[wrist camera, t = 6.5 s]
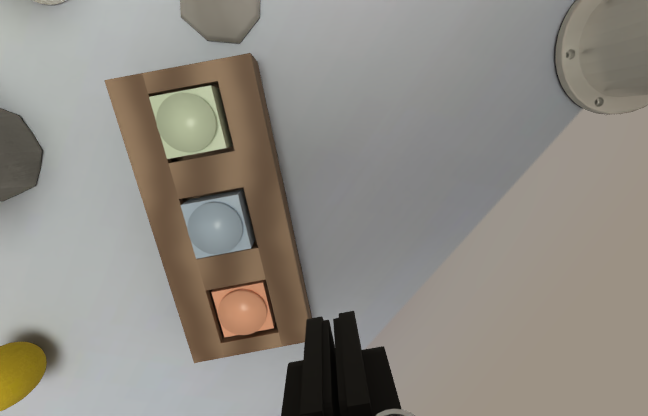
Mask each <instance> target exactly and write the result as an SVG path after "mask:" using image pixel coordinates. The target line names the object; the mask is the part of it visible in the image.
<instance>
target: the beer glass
mask: <svg viewBox="0 0 648 416" xmlns="http://www.w3.org/2000/svg"><path fill="white" fill-rule="evenodd" d="M32 1H34V2H37V3H40V4H46V5H55V4H60V3H62V2H65V1H66V0H32Z"/></svg>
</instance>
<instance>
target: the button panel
mask: <svg viewBox="0 0 648 416" xmlns="http://www.w3.org/2000/svg"><path fill="white" fill-rule="evenodd" d="M105 84H106V87H107V90H108V93H109V96H110V99H111V102H112V106H113V109H114V112H115V115H116V118H117V121H118V124H119V128H120V131H121V134H122V137H123V140H124V143H125V147H126V150H127V153H128V156H129V159H130V162H131V165H132V169H133V172H134V175H135V178H136V181H137V184H138V187H139V191H140V194H141V197H142V200H143V203H144V206H145V210H146V213H147V216H148V219H149V222H150V225H151V228H152V232H153V235H154V238H155V241H156V244H157V247H158V250H159V254H160V257H161V260H162V263H163V266H164V269H165V273H166V276H167V279H168V282H169V285H170V288H171V291H172V295H173V298H174V301H175V304H176V307H177V310H178V313H179V317H180V320H181V323H182V326H183V329H184V332H185V336H186V339H187V342H188V345H189V348H190V351H191V354H192V358H193V361H194V363H197V362H202V361H207V360H213V359H218V358H223V357H229V356H234V355H239V354H245V353H250V352H255V351H260V350H266V349H271V348H276V347H282V346H287V345H292V344H298V343H303V342H305V333H306V320H307V319H311V318H312V316H311V311H310V307H309V302H308V297H307V292H306V288H305V283H304V278H303V274H302V269H301V264H300V260H299V255H298V250H297V246H296V241H295V236H294V231H293V227H292V222H291V217H290V213H289V208H288V203H287V199H286V194H285V189H284V185H283V180H282V175H281V170H280V166H279V161H278V156H277V152H276V147H275V142H274V138H273V133H272V128H271V123H270V119H269V114H268V109H267V105H266V100H265V95H264V91H263V86H262V81H261V77H260V72H259V67H258V62H257V61H256V59H255V58H254V57H253V56H252V54H251V53H248V54H243V55H238V56H232V57H227V58H222V59H216V60H211V61H206V62H200V63H195V64H189V65H184V66H179V67H173V68H168V69H163V70H157V71H152V72H147V73H141V74H136V75H130V76H125V77H120V78H114V79H109V80H105ZM210 85H211V86H214V87H216V88H219V92H220V96H221V100H222V104H223V108H224V112H225V116H226V121H227V125H228V129H229V133H230V137H231V141H232V145H233V146H232V147H228V148H224V149H219V150H213V151H208V152H202V153H197V154H192V155H186V156H181V157H176V158H170V159H167V157H166V154H165V150H164V147H163V143H162V140H161V136H160V133H159V131H158V128H157V123H156V119H155V116H154V112H153V109H152V106H151V102H150V99H149V97H151V96H157V95H162V94H167V93H173V92H178V91H184V90H189V89H194V88H200V87H205V86H210ZM241 189H243V191H244V195H245V199H246V203H247V207H248V211H249V215H250V219H251V224H252V228H253V232H254V236H255V241H254V243H253V246H252V248H251V249H246V250H240V251H235V252H230V253H225V254H219V255H214V256H209V257H203V258H198V259H196V257H195V253H194V250H193V246H192V243H191V240H190V237H189V234H188V229H187V226H186V222H185V219H184V216H183V212H182V209H181V205H182V204H183V203H185V202H186V201H188V200H190V199H193V198H199V197H204V196H209V195H215V194H220V193H225V192H231V191H236V190H241ZM265 279H266V282H267V286H268V290H269V295H270V299H271V303H272V307H273V311H274V315H275V326H274V328H272V329H267V330H262V331H256V332H254V333H252V334H248V335H235V336H230V337H225V338H224V334H223V331H222V327H221V324H220V321H219V318H218V313H217V310H216V306H215V303H214V299H213V296H212V290H213V289H217V288H222V287H227V286H233V285H238V284H243V283H249V282H254V281H259V280H265Z"/></svg>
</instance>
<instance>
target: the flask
mask: <svg viewBox="0 0 648 416" xmlns="http://www.w3.org/2000/svg"><path fill="white" fill-rule="evenodd" d="M180 10H181V18H183V19H184V20H185V21H186V22H187V23H188V24H189V25H190V26H192V27H193V28H194V29H195V30H196V31H197V32H198V33H199V34H201V35H202V36H203V37H204V38H205V39H206V40H207V41H218V42H228V43H239V44H240V42H241V41H242V40H243V38H244V37H245V36H246V35H247V33H248V32H249V31H250V29H251V28H252V27H253V25H254V24H255V23H256V22H257V20H258V19H259V18H260V0H180Z"/></svg>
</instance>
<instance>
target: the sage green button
mask: <svg viewBox="0 0 648 416" xmlns="http://www.w3.org/2000/svg"><path fill="white" fill-rule="evenodd" d="M149 99H150V102H151V106H152V109H153V112H154V116H155V119H156V123H157V128H158V131H159V133H160V136H161V140H162V143H163V147H164V150H165V154H166V157H167V159H170V158H176V157H181V156H186V155H192V154H197V153H202V152H208V151H213V150H219V149H224V148H228V147H232V146H233V145H232V141H231V137H230V133H229V129H228V125H227V121H226V116H225V112H224V108H223V104H222V100H221V96H220V92H219V88H216V87H214V86H211V85H210V86H205V87H200V88H194V89H189V90H184V91H178V92H173V93H167V94H162V95H157V96H151V97H149Z"/></svg>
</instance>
